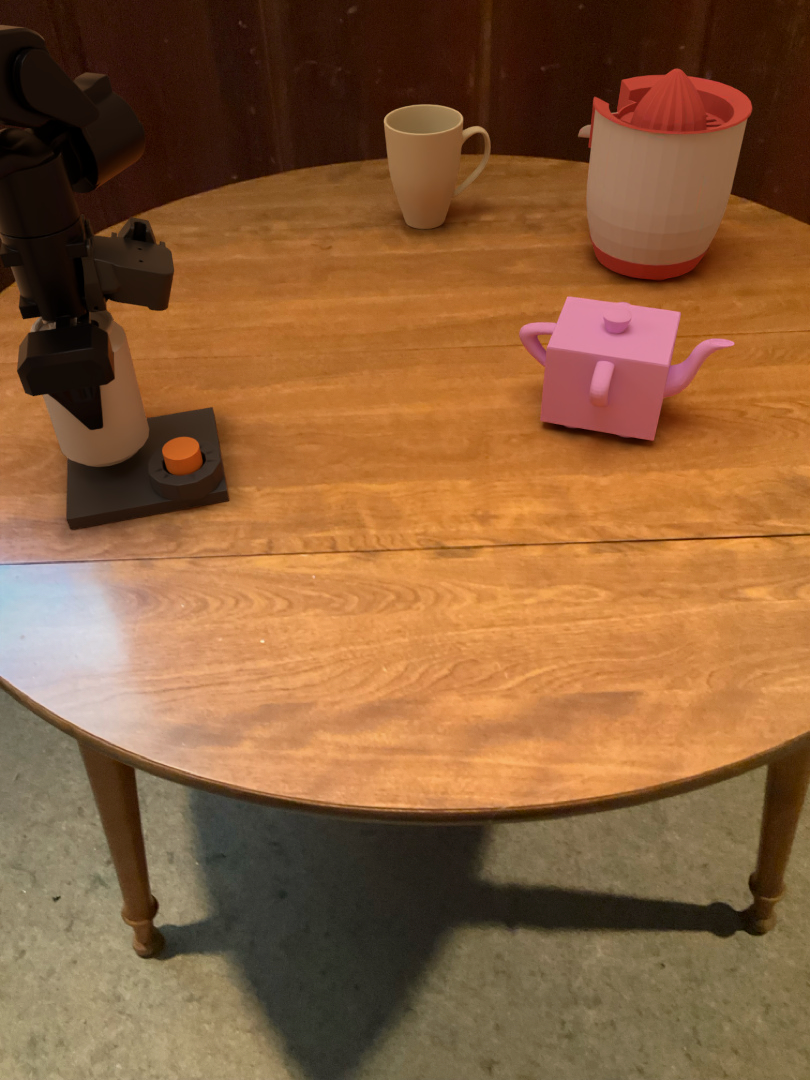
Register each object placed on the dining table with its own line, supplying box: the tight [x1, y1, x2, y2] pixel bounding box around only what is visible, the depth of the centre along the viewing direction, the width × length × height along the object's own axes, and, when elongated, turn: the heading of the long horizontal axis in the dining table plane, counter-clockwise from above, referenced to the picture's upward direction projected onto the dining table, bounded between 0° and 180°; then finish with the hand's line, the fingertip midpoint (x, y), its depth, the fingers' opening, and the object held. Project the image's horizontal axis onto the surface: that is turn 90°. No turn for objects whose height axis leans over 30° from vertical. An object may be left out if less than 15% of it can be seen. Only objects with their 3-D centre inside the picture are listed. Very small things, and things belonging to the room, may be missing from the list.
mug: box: [383, 104, 492, 230], centre depth 109 cm, size 11×10×12 cm
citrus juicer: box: [577, 68, 753, 281], centre depth 98 cm, size 16×17×20 cm
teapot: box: [518, 296, 735, 442], centre depth 81 cm, size 18×14×10 cm
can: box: [30, 309, 149, 467], centre depth 75 cm, size 8×8×12 cm
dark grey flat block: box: [65, 406, 230, 530], centre depth 79 cm, size 13×12×3 cm
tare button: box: [162, 437, 203, 476], centre depth 76 cm, size 3×3×2 cm
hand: (96, 400), depth 76 cm, fingers closed on can, 7 cm apart
